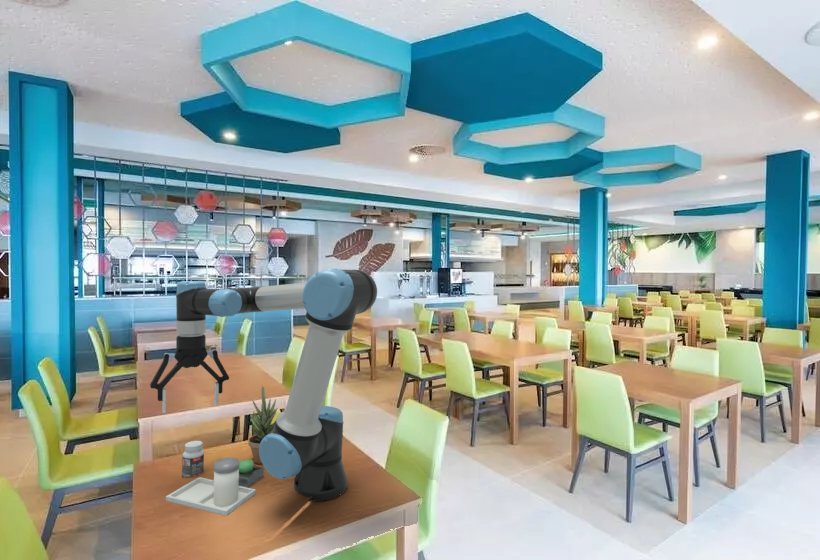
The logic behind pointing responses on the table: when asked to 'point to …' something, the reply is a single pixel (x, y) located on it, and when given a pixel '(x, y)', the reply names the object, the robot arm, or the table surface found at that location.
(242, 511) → the table surface
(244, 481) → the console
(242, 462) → the button
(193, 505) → the white divided tray
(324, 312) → the robot arm
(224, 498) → the white canister
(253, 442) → the potted plant
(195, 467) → the pill bottle
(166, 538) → the table surface
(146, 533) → the table surface
